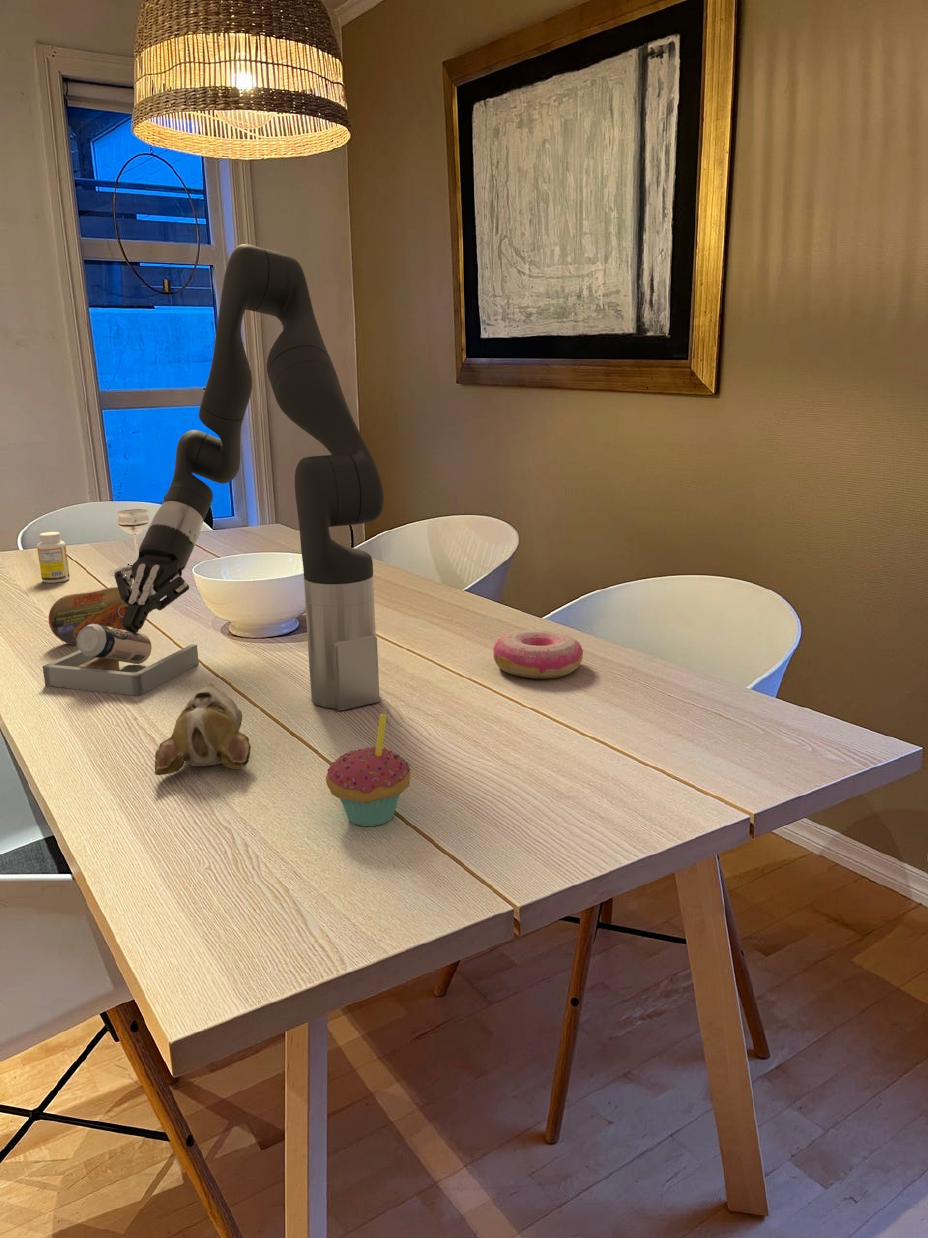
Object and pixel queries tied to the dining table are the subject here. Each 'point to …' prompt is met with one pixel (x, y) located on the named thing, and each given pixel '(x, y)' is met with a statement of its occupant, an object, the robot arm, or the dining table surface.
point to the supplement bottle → (53, 558)
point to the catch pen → (117, 673)
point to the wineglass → (133, 523)
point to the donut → (537, 653)
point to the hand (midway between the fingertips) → (129, 629)
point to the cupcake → (369, 781)
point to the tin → (86, 612)
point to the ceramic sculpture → (205, 734)
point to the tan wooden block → (102, 664)
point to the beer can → (113, 644)
